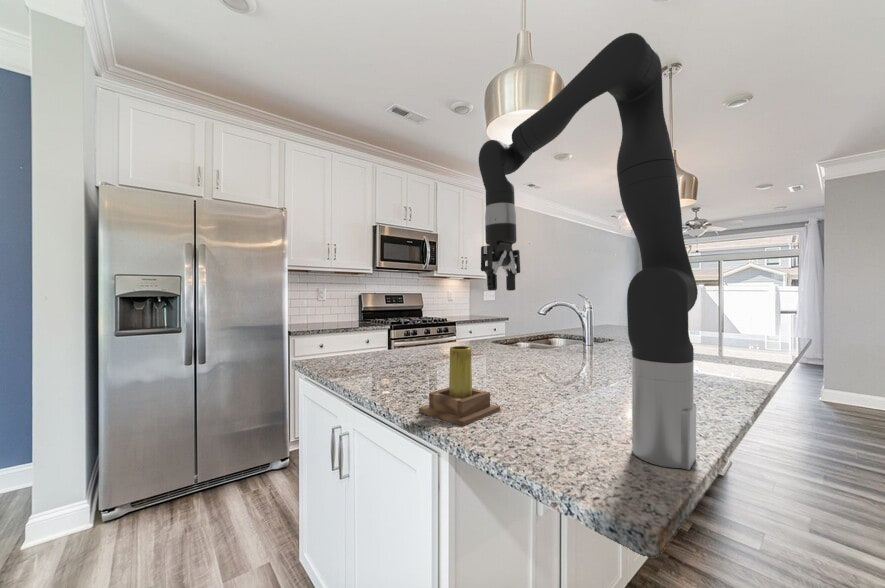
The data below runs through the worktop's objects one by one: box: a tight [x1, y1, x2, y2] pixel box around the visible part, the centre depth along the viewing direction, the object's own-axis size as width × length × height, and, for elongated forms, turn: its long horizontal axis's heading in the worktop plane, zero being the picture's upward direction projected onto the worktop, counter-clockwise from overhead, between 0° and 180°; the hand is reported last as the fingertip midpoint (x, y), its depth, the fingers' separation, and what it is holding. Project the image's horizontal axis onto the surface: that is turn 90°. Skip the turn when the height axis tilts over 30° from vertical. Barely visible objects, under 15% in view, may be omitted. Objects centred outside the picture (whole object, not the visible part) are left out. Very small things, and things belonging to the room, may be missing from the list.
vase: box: [448, 345, 473, 399], centre depth 89 cm, size 6×6×14 cm
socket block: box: [418, 387, 501, 427], centre depth 89 cm, size 14×14×4 cm
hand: (502, 290), depth 90 cm, fingers open, 8 cm apart
